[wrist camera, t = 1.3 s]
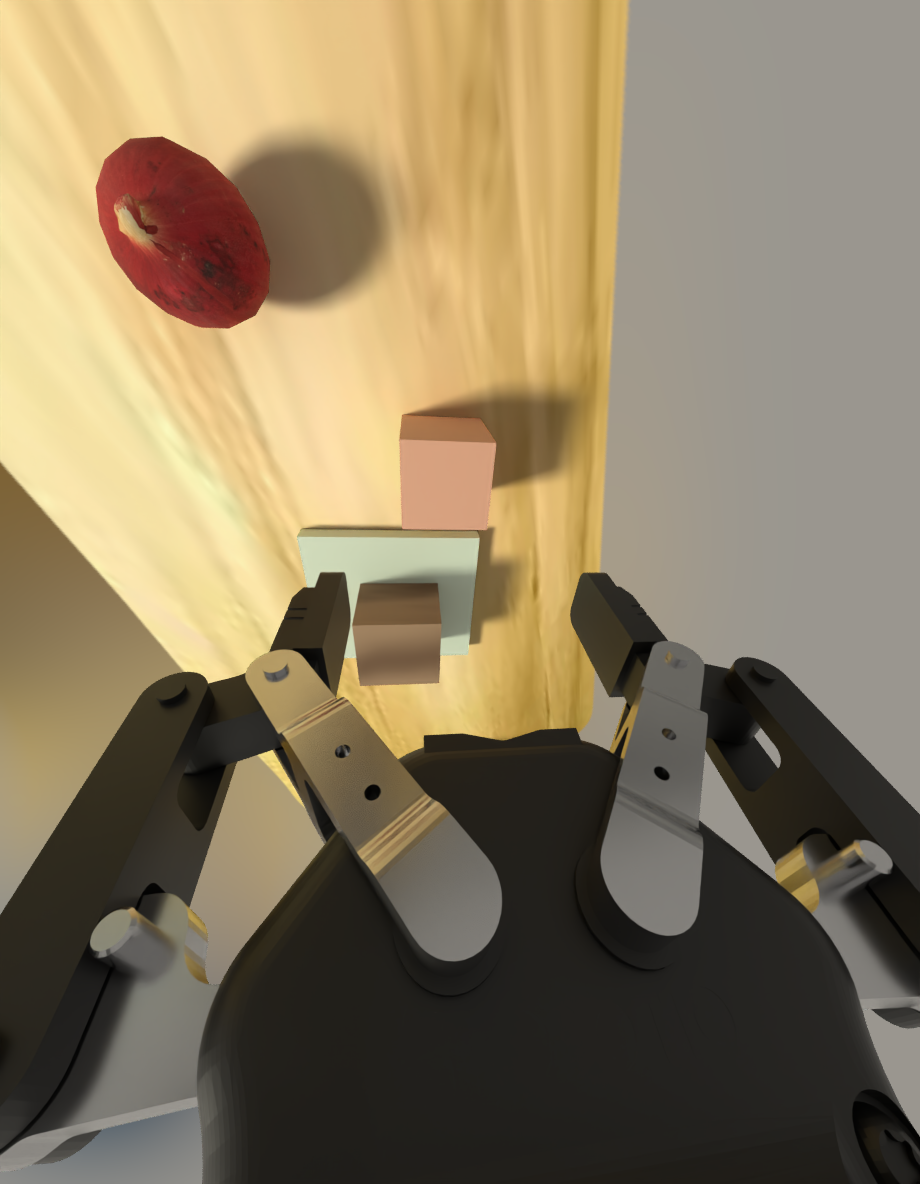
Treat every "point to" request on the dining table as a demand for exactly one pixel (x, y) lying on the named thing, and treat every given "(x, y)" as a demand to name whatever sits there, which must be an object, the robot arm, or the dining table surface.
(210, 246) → the red oval piece
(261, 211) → the dining table surface
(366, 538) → the sage board
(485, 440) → the terracotta block
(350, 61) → the dining table surface
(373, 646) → the walnut block
